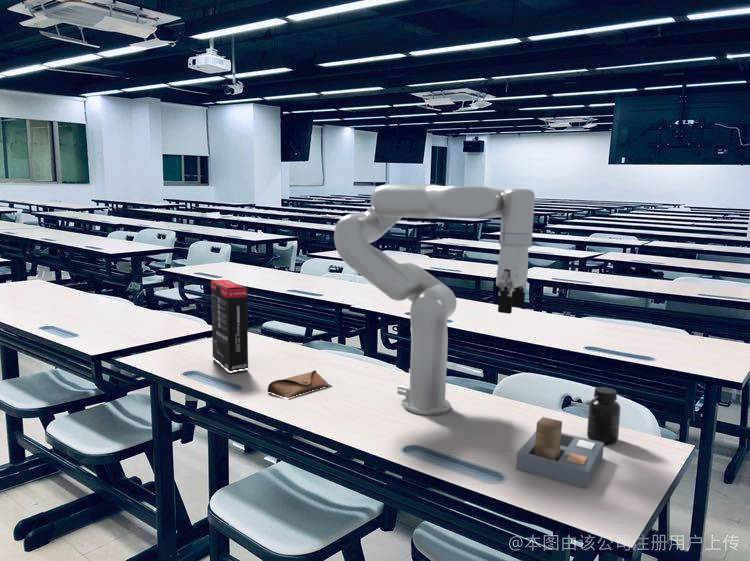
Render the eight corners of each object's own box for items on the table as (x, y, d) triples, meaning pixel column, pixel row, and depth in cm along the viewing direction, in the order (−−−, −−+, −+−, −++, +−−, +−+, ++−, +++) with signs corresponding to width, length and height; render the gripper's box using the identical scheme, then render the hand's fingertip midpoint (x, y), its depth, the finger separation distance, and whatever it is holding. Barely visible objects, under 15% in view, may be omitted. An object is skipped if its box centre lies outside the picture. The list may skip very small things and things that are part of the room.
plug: (533, 468, 114) (536, 422, 113) (539, 461, 117) (542, 416, 116) (552, 474, 112) (556, 427, 111) (558, 467, 115) (562, 421, 114)
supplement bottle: (609, 433, 133) (614, 385, 132) (623, 445, 127) (628, 395, 125) (581, 433, 133) (585, 385, 132) (593, 445, 126) (598, 395, 125)
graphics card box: (249, 372, 173) (249, 286, 169) (228, 375, 169) (227, 287, 165) (230, 358, 187) (230, 278, 183) (210, 361, 183) (209, 280, 179)
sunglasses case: (286, 400, 149) (278, 377, 150) (272, 407, 153) (264, 384, 155) (334, 385, 162) (326, 364, 164) (320, 392, 167) (312, 371, 168)
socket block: (515, 468, 114) (517, 451, 113) (538, 441, 127) (539, 426, 127) (587, 488, 107) (588, 470, 106) (602, 458, 120) (604, 441, 120)
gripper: (512, 238, 143) (508, 303, 146) (488, 241, 129) (484, 313, 131) (541, 240, 139) (536, 306, 142) (519, 243, 125) (514, 317, 127)
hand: (511, 309), depth 136 cm, fingers open, 9 cm apart
